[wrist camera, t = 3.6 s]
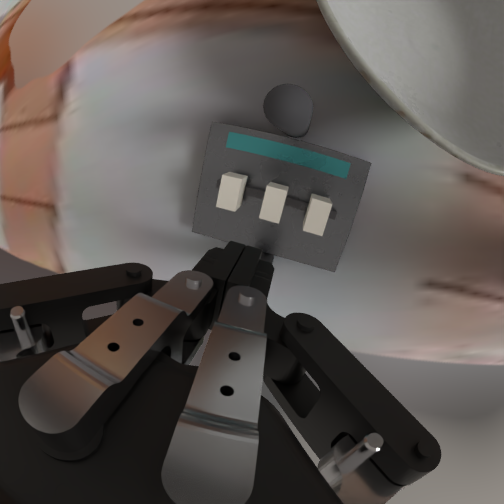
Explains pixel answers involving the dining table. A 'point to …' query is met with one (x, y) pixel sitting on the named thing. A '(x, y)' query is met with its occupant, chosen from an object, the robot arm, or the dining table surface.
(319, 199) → the paddles
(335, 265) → the panel
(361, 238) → the dining table surface
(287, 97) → the dark gray rounded rod
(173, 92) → the dining table surface
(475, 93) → the decorative bowl
